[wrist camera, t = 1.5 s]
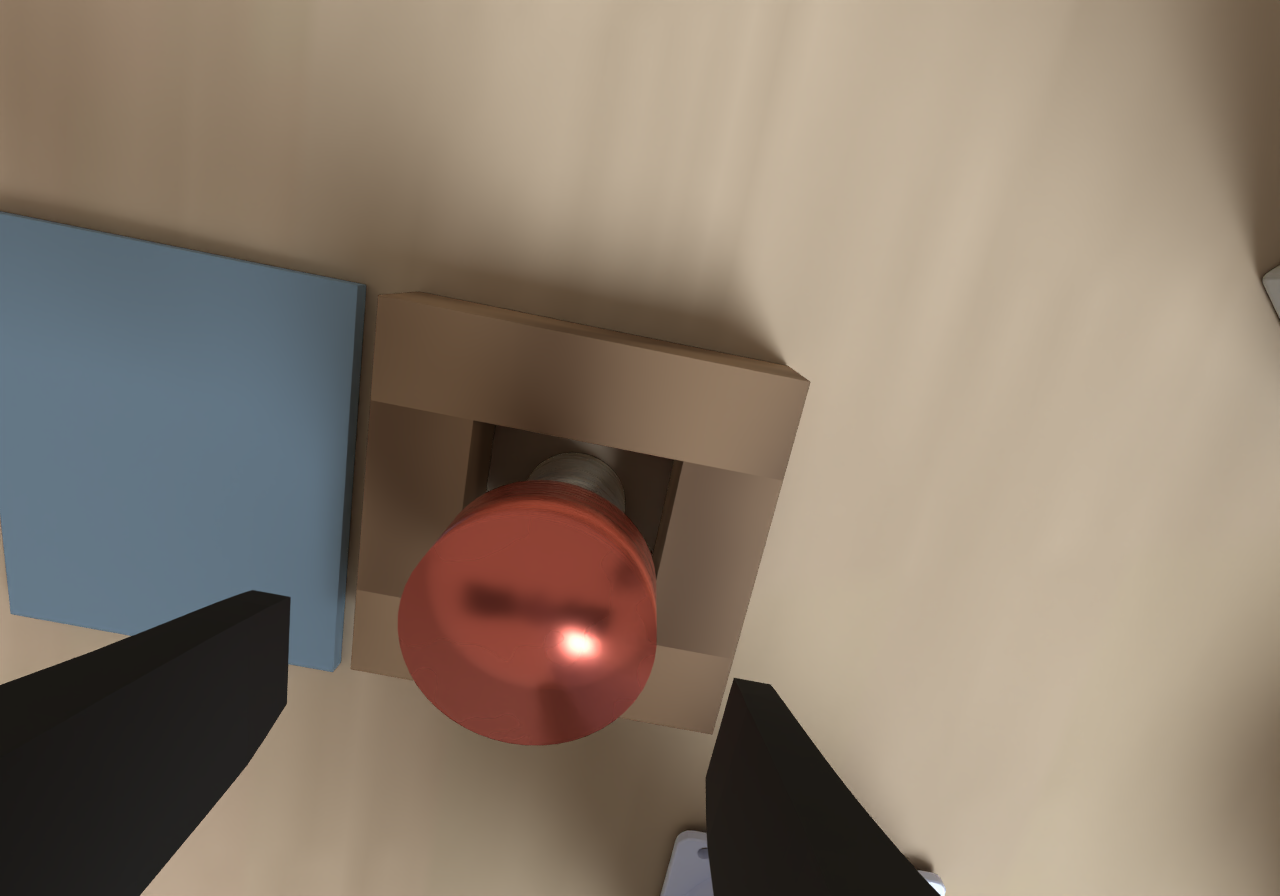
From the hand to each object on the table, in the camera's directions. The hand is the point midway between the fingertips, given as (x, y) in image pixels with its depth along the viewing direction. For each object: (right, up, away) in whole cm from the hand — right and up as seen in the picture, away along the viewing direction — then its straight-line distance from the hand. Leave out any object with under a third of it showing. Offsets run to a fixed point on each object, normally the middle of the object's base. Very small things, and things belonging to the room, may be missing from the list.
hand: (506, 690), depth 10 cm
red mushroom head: (0, +2, +8) cm, 9 cm away
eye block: (0, +2, +8) cm, 9 cm away
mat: (-11, +4, +8) cm, 14 cm away
